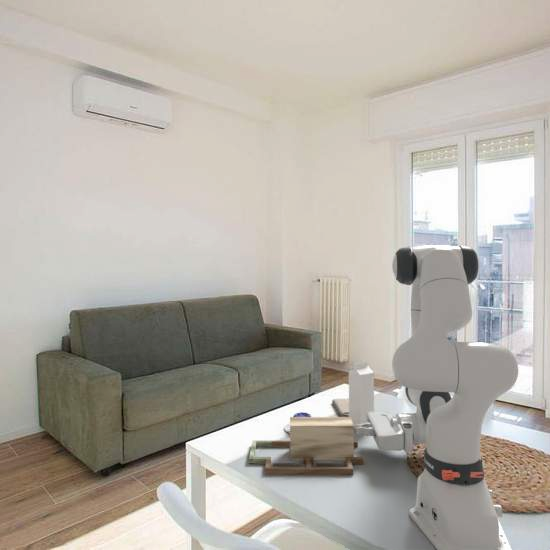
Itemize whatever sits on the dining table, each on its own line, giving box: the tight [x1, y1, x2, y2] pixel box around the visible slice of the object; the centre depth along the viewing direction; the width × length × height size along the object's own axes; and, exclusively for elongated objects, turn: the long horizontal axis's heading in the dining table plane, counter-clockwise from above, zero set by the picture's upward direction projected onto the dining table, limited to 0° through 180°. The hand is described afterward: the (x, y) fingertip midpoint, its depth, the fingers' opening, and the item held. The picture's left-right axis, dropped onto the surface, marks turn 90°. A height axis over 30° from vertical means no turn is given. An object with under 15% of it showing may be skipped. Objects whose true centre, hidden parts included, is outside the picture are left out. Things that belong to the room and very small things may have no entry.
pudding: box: [284, 411, 312, 434], centre depth 152 cm, size 12×12×5 cm
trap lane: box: [248, 440, 365, 476], centre depth 130 cm, size 18×32×2 cm, turn 88°
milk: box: [348, 361, 375, 430], centre depth 153 cm, size 6×6×22 cm
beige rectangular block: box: [289, 416, 355, 461], centre depth 133 cm, size 7×18×10 cm, turn 88°
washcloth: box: [331, 397, 349, 417], centre depth 170 cm, size 12×18×3 cm, turn 6°
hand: (355, 429), depth 132 cm, fingers closed
